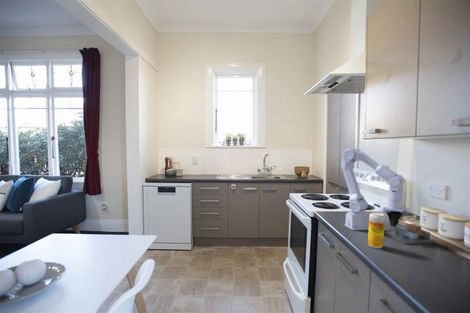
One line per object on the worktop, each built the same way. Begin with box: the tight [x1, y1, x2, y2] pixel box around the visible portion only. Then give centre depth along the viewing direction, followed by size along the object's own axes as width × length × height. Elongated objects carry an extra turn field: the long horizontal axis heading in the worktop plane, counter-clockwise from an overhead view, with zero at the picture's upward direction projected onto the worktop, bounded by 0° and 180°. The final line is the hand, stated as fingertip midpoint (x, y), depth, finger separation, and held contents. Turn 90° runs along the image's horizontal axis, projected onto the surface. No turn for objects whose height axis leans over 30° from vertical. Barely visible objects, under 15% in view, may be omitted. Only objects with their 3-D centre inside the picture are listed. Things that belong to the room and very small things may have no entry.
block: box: [405, 223, 422, 237], centre depth 121 cm, size 4×4×5 cm
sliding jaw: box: [395, 225, 418, 240], centre depth 121 cm, size 3×10×3 cm, turn 10°
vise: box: [385, 228, 435, 245], centre depth 121 cm, size 16×12×4 cm
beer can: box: [367, 211, 386, 249], centre depth 111 cm, size 6×6×15 cm
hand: (393, 225), depth 122 cm, fingers closed
